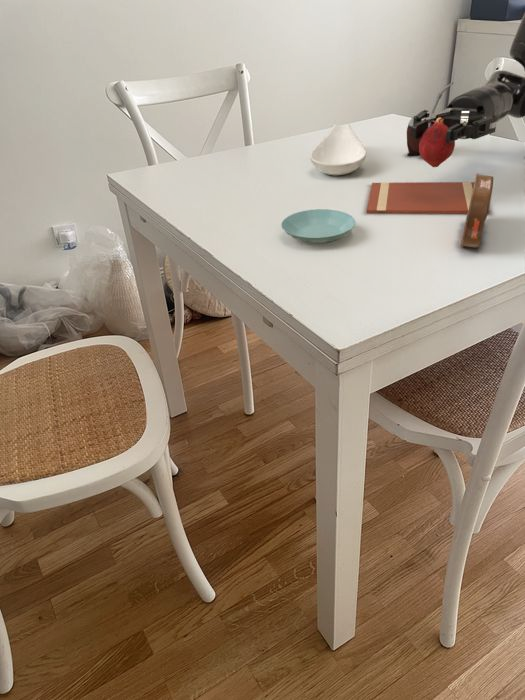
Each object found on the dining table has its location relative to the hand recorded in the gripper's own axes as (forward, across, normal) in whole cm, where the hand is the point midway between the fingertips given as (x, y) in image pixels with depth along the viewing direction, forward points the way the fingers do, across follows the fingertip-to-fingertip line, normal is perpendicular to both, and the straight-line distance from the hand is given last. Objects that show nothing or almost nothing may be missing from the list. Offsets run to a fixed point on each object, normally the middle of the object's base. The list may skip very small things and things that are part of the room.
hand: (431, 134), depth 88 cm
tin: (+9, +13, +12) cm, 19 cm away
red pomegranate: (-3, 0, +6) cm, 7 cm away
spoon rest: (-15, -28, +12) cm, 34 cm away
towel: (-3, -2, +12) cm, 12 cm away
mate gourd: (-28, -15, +12) cm, 34 cm away
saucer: (+20, -8, +12) cm, 25 cm away
